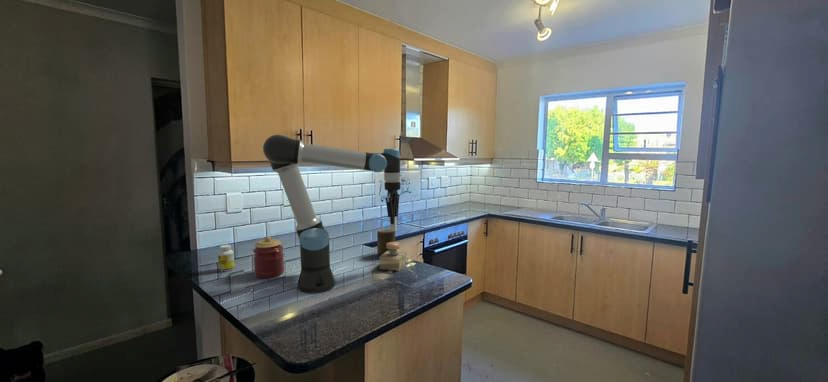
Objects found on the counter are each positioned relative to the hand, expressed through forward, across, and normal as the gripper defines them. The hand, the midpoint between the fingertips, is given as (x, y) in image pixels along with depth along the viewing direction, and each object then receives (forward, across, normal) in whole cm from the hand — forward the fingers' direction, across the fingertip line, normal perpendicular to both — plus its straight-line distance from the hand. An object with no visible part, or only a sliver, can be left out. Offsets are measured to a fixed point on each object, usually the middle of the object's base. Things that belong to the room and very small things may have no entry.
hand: (393, 230), depth 167 cm
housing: (+18, 0, 0) cm, 18 cm away
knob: (+14, 0, 0) cm, 14 cm away
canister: (+18, -26, +51) cm, 60 cm away
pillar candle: (+18, +16, +10) cm, 26 cm away
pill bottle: (+18, -28, +74) cm, 82 cm away
